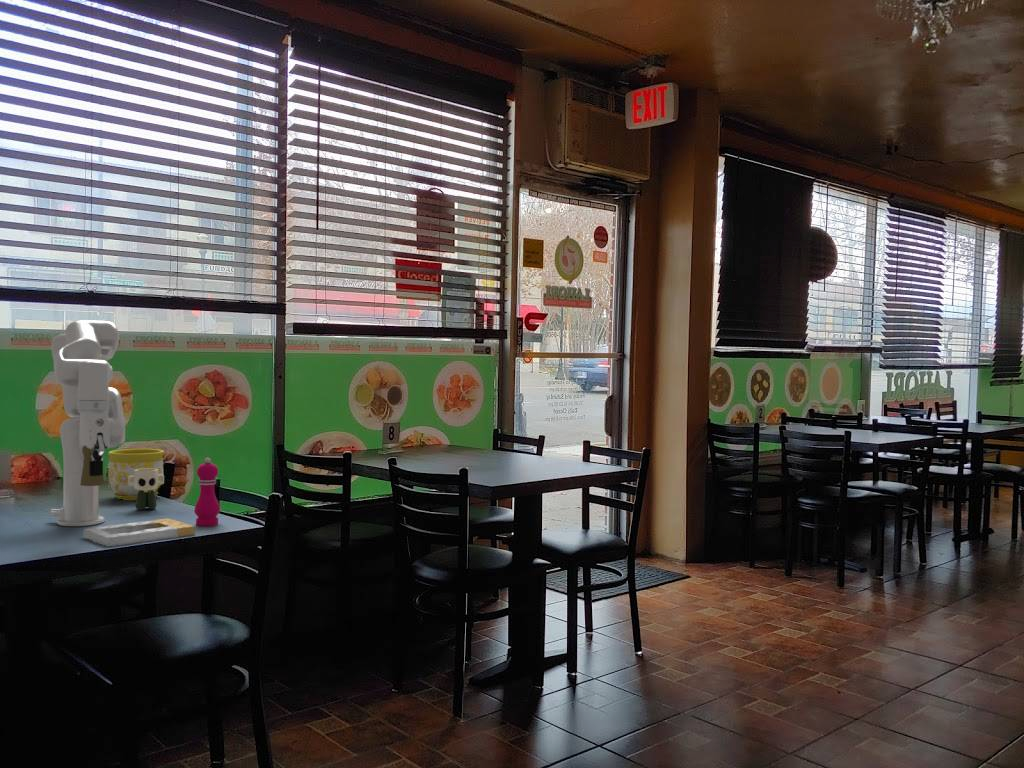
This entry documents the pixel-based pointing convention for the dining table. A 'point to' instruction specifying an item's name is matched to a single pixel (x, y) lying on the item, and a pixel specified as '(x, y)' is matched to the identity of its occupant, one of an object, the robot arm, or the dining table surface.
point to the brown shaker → (86, 478)
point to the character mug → (145, 486)
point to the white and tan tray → (138, 532)
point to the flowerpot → (132, 469)
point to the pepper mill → (207, 495)
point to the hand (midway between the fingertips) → (93, 473)
